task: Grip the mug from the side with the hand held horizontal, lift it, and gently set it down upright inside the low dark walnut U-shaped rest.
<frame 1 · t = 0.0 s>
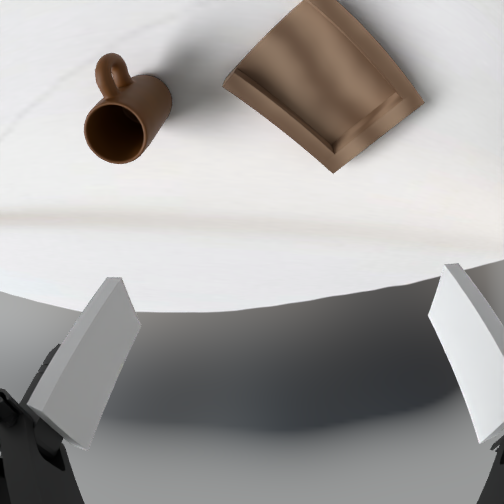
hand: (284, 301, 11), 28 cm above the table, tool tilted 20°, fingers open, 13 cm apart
u rest: (325, 79, 28), on the table
mug: (142, 84, 29), on the table
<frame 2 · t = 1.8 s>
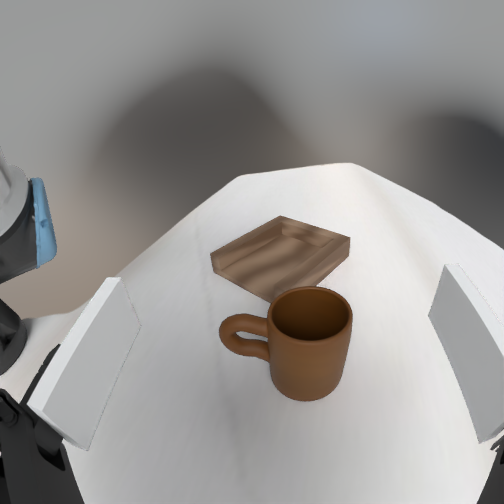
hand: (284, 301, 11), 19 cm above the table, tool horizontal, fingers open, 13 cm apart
u rest: (283, 263, 48), on the table
mug: (285, 376, 29), on the table
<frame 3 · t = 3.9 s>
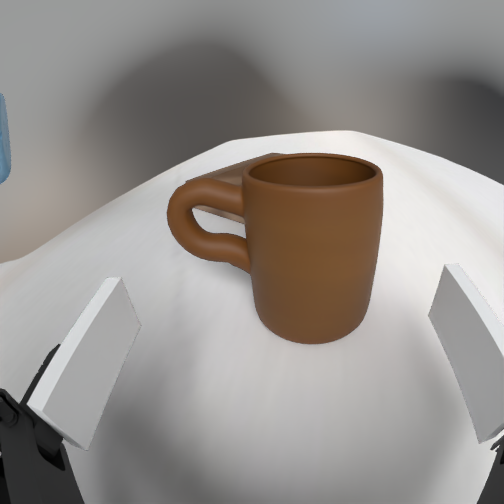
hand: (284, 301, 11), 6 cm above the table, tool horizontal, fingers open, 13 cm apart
u rest: (276, 195, 38), on the table
mug: (279, 310, 19), on the table
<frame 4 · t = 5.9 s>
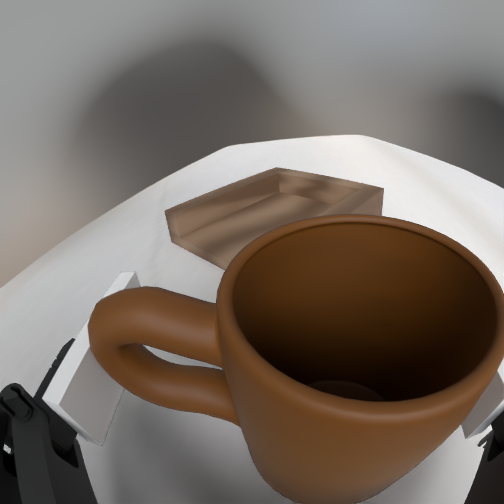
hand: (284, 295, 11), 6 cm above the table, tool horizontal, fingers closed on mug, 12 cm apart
u rest: (281, 228, 30), on the table
mug: (284, 443, 11), on the table, touching gripper
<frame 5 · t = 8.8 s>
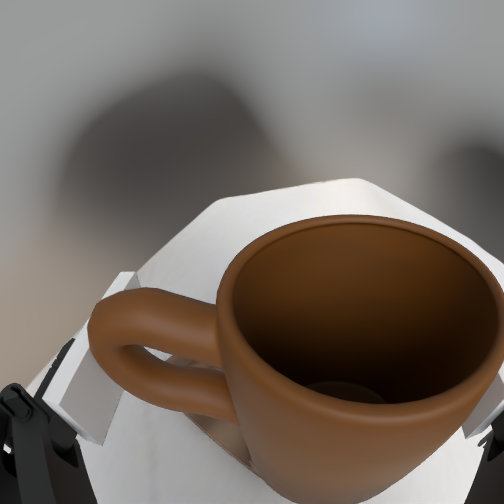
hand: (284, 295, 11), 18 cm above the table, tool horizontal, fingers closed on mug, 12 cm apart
u rest: (270, 380, 27), on the table
mug: (284, 444, 11), point 12 cm above the table, touching gripper
when the fingers open (9 cm above the table, at t = 11.8 s): mug drops 2 cm, resting on u rest.
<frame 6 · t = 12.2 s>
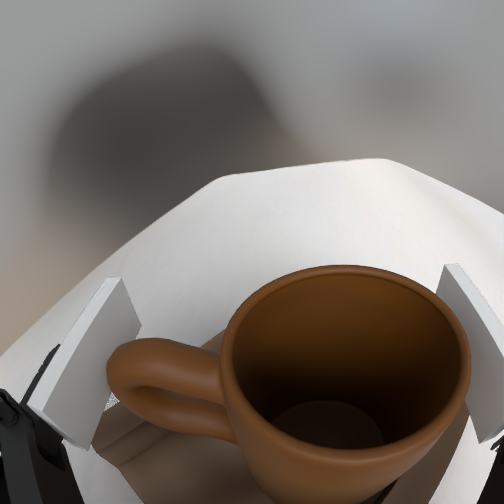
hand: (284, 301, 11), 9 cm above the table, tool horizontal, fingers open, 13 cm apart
u rest: (297, 448, 13), on the table
mug: (279, 457, 12), point 1 cm above the table, touching u rest
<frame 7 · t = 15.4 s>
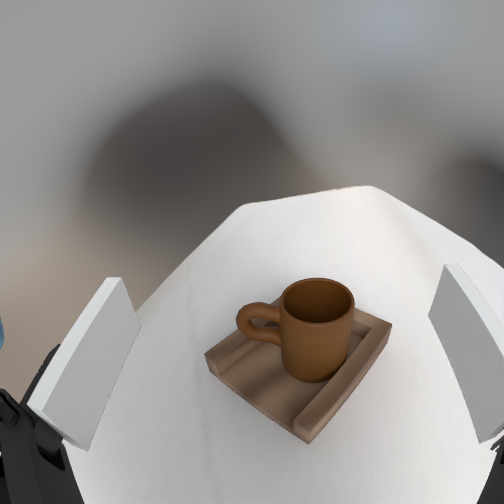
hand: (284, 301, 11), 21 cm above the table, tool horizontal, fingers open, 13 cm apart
u rest: (302, 360, 34), on the table
mug: (295, 362, 33), point 1 cm above the table, touching u rest
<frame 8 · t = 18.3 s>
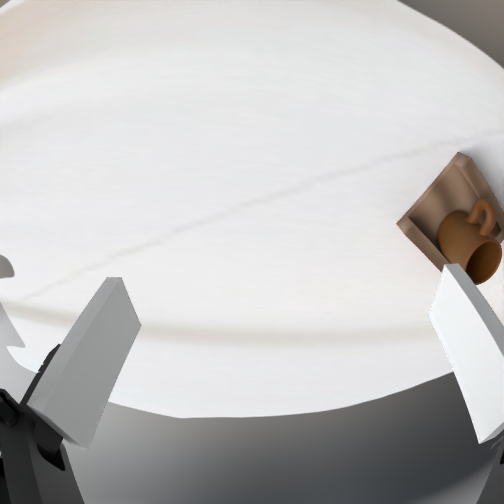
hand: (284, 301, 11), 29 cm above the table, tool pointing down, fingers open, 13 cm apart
u rest: (456, 221, 38), on the table
mug: (455, 217, 37), point 1 cm above the table, touching u rest
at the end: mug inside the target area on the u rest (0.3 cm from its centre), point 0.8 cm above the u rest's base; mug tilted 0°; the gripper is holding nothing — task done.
